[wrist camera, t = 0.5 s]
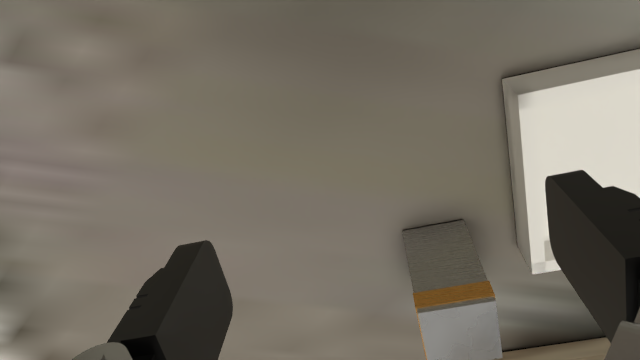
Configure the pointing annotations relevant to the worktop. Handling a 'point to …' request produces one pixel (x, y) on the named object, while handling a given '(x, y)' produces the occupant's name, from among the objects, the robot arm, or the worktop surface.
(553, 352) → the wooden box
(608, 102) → the tray
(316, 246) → the worktop surface
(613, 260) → the robot arm
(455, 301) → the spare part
